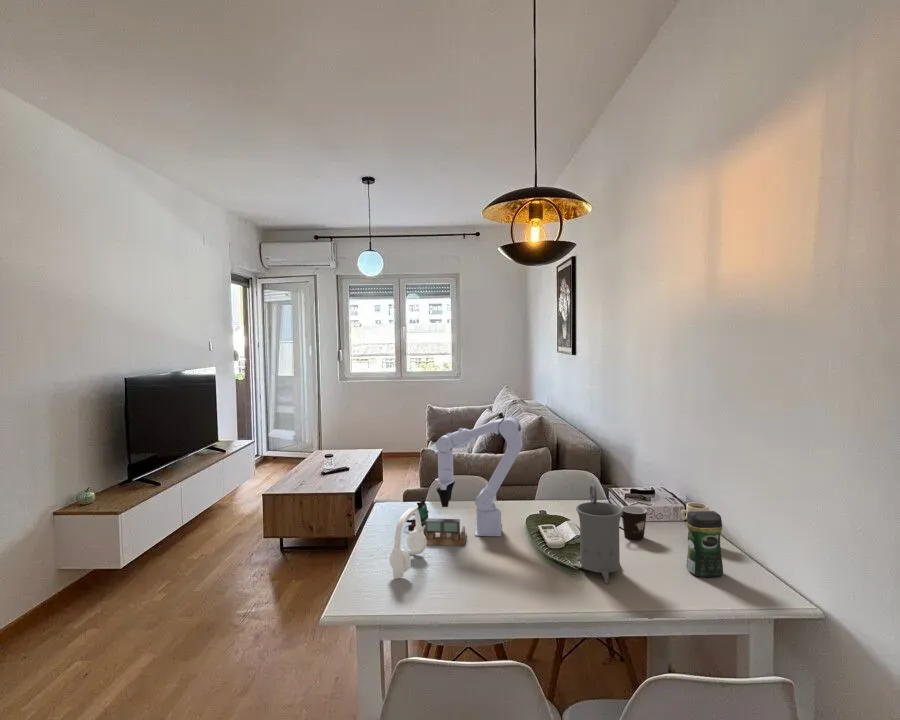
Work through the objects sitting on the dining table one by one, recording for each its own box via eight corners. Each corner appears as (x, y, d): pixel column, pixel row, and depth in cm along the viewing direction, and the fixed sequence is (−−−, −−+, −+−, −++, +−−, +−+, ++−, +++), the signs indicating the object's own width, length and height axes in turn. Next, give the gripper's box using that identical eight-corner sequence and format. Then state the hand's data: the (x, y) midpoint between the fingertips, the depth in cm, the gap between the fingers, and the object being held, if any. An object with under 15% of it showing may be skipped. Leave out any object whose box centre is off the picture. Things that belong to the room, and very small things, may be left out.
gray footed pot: (633, 584, 152) (632, 498, 151) (581, 584, 152) (581, 499, 152) (614, 557, 171) (614, 481, 170) (568, 557, 171) (568, 481, 170)
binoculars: (405, 497, 207) (429, 496, 205) (408, 524, 207) (432, 523, 205) (398, 504, 198) (424, 503, 196) (401, 532, 199) (427, 531, 197)
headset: (407, 582, 156) (406, 522, 155) (385, 579, 158) (384, 520, 157) (429, 555, 175) (428, 502, 175) (409, 553, 177) (408, 500, 177)
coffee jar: (714, 566, 163) (714, 507, 162) (727, 578, 155) (727, 515, 154) (682, 567, 163) (682, 507, 162) (693, 578, 155) (693, 516, 154)
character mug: (710, 539, 185) (710, 502, 184) (717, 547, 178) (717, 509, 177) (678, 537, 186) (677, 501, 186) (683, 545, 179) (683, 508, 179)
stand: (466, 535, 193) (466, 524, 192) (464, 545, 183) (464, 534, 183) (423, 533, 195) (423, 523, 194) (418, 544, 185) (418, 533, 184)
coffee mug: (643, 533, 191) (643, 506, 191) (649, 542, 183) (649, 513, 182) (610, 532, 193) (610, 505, 192) (615, 541, 184) (615, 513, 184)
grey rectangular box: (460, 530, 189) (459, 519, 189) (459, 533, 186) (459, 522, 186) (427, 529, 191) (426, 518, 191) (425, 532, 188) (425, 521, 187)
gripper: (437, 463, 205) (438, 497, 206) (432, 472, 191) (432, 509, 191) (455, 463, 204) (456, 497, 205) (451, 472, 190) (452, 509, 191)
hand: (446, 503), depth 198 cm, fingers open, 7 cm apart
